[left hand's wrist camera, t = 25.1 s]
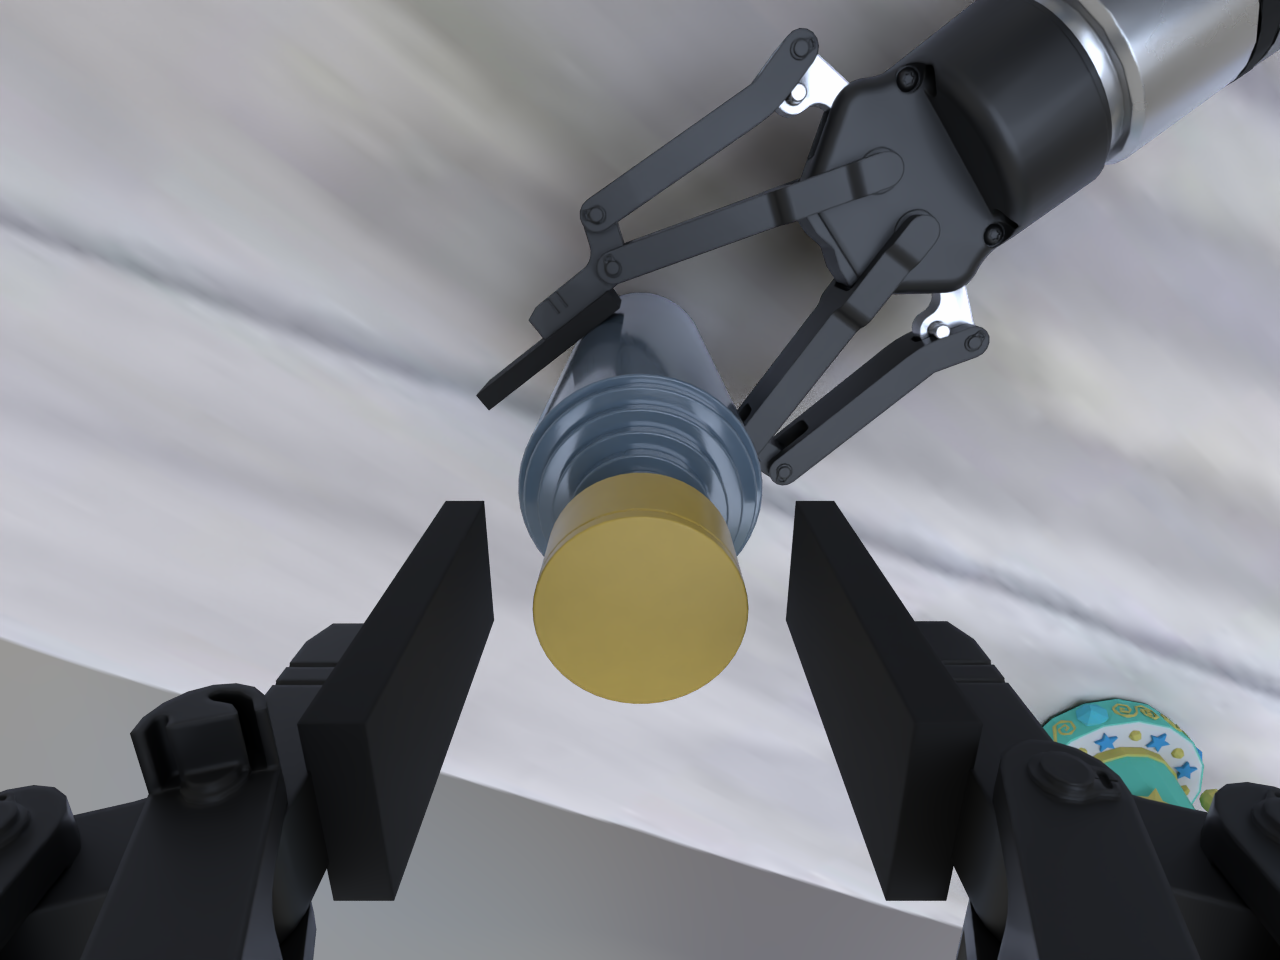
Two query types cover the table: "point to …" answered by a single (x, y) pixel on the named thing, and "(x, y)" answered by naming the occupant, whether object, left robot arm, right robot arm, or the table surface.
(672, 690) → the cap
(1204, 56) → the right robot arm
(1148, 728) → the decorative hourglass
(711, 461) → the bottle
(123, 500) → the table surface
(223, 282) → the table surface
